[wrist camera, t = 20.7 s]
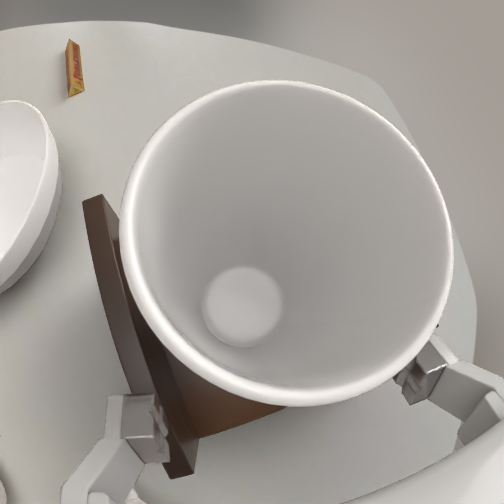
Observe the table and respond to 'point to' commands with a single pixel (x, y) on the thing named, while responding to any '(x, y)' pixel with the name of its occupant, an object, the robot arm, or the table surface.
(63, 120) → the table surface
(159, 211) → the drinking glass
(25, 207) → the bowl
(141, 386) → the brown wooden box
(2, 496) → the cat figurine
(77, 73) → the chocolate bar
